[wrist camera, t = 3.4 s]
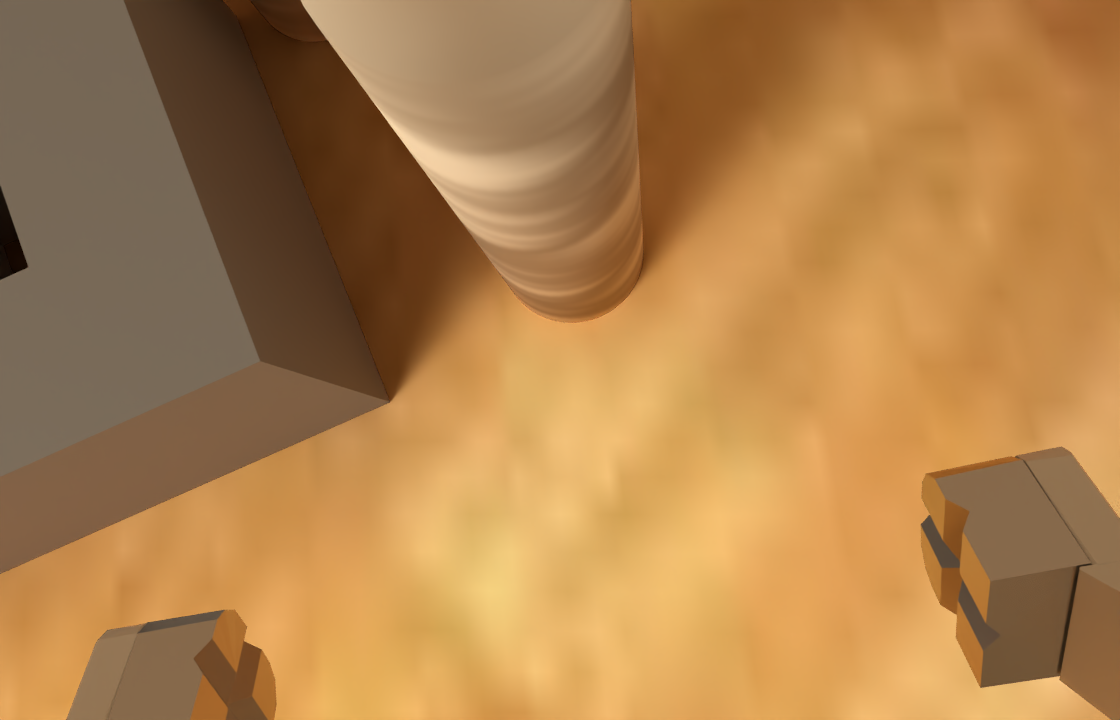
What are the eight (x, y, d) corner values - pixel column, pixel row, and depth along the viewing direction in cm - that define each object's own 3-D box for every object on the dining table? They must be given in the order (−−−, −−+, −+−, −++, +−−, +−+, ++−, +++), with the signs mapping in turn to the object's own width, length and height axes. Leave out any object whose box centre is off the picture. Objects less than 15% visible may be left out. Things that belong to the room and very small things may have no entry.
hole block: (-15, 580, 31) (-334, 625, 21) (-139, 188, 33) (-482, 60, 23) (390, 402, 30) (260, 360, 20) (236, 15, 32) (50, -193, 22)
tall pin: (534, 345, 30) (356, 138, 12) (480, 218, 31) (236, -155, 13) (666, 287, 30) (683, -9, 12) (609, 161, 30) (543, -298, 13)
